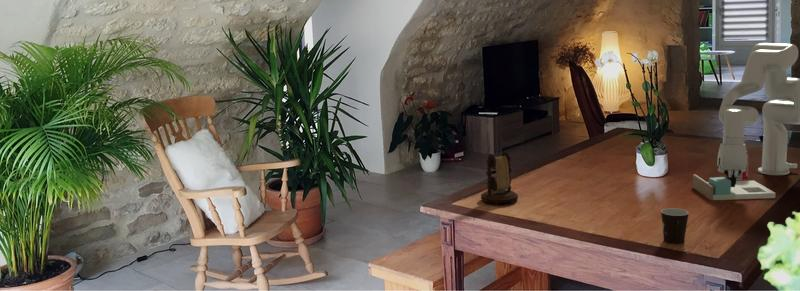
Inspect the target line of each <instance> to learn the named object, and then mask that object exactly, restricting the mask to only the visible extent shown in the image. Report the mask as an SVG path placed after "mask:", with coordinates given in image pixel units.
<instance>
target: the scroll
mask: <svg viewBox="0 0 800 291" xmlns="http://www.w3.org/2000/svg"><path fill="white" fill-rule="evenodd" d="M511 159H512V157H511V156H510V154H509V153H508V152H507V151H503V152H502V153H501V156H495V155H494V153H490V154H488V157H487V159H486V165H487V168H486V172H485V173H486V174H485V175H486V176H487V180H486V181H487V183H486V186H487V190H485V191H484V192H483V193H481V195H480V199H481V200H482V202H483V201H484V202H488V203H494V205H495V206H498V205H499V204H505V203H511V202H515V203H518V199H519V194H518V193H517V192H516V191H514V190H511V189H512V186H511V184H512V179H511V177H512V175H511V172H512V171H513V170H512V167H511V166H512V165H511ZM492 175H496V178H495V177H494V176H492ZM498 203H499V204H498Z"/></svg>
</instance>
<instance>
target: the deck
mask: <svg viewBox="0 0 800 291" xmlns="http://www.w3.org/2000/svg"><path fill="white" fill-rule="evenodd" d="M692 188H693V189H694V190H696V192H698V193H700V194H701V195H703V196H704V197H706V199H708V200H710V201H726V200H727V201H729V200H730V201H732V200H753V199H754V200H755V199H776V195H777V194H776V192H774V191H773V190H771V189H769V188H767V187H766V186H765V185H763V184H761V183H759V182H757V181H756V180H747V181H736V185H735V187H731V194H727V195H714V194H713V190H714V186H712V185H711V184H709V181H706V180H704V179H703V178H702V177H700V176H699V175H698V174H696V173H695V174H693V175H692Z"/></svg>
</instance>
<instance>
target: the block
mask: <svg viewBox="0 0 800 291" xmlns="http://www.w3.org/2000/svg"><path fill="white" fill-rule="evenodd" d="M708 182H709V184H711V185H712V186H714V190H713V194H714V195H727V194H731V180H729V179H727V177H725V176H718V177H708Z"/></svg>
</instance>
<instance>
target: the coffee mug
mask: <svg viewBox="0 0 800 291" xmlns="http://www.w3.org/2000/svg"><path fill="white" fill-rule="evenodd" d="M660 212H661V213H660V214H661V223H662V225H661V226H662V234H663V235H662V236H663V242H665V243H667V244H672V245H680V244H683V243H684V242H685V238H686V232H687V227H688V226H687V225H688V221H689V220H688V219H689V215H690V214H689V213H690V212H689V211H688V210H686V209H683V208H674V207H672V208H671V207H669V208H663V209H661V210H660Z"/></svg>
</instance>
